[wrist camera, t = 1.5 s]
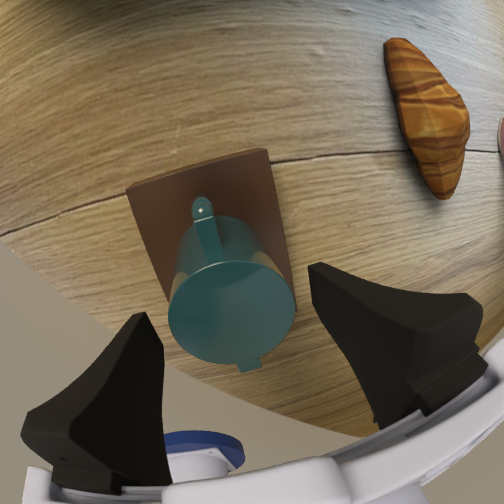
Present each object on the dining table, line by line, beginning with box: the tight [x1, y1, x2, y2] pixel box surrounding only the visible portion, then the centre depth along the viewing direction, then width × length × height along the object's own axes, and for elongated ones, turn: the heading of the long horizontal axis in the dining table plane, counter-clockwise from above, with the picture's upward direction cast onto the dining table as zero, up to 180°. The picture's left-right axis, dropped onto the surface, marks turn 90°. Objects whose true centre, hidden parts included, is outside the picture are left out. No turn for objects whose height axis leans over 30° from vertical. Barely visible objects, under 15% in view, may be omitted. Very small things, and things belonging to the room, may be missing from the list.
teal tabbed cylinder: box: [168, 193, 295, 373], centre depth 13 cm, size 5×8×6 cm
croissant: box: [383, 38, 470, 200], centre depth 15 cm, size 14×7×5 cm, turn 28°
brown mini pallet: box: [125, 148, 297, 312], centre depth 17 cm, size 8×11×2 cm
